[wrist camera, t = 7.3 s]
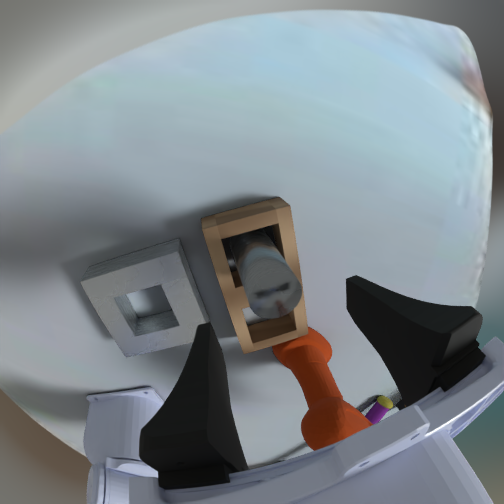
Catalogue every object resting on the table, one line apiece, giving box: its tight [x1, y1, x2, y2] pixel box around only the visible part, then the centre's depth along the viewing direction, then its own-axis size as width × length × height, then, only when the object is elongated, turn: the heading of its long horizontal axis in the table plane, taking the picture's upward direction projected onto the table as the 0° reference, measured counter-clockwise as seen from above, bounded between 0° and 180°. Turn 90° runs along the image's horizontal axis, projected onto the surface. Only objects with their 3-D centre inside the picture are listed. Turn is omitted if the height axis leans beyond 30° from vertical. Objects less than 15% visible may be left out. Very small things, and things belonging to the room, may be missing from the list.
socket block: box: [80, 238, 210, 357], centre depth 21 cm, size 8×8×2 cm
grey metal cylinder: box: [230, 228, 302, 319], centre depth 18 cm, size 3×3×8 cm
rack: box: [201, 197, 308, 354], centre depth 22 cm, size 12×6×2 cm, turn 12°
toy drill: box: [272, 327, 374, 451], centre depth 23 cm, size 5×19×15 cm, turn 43°
